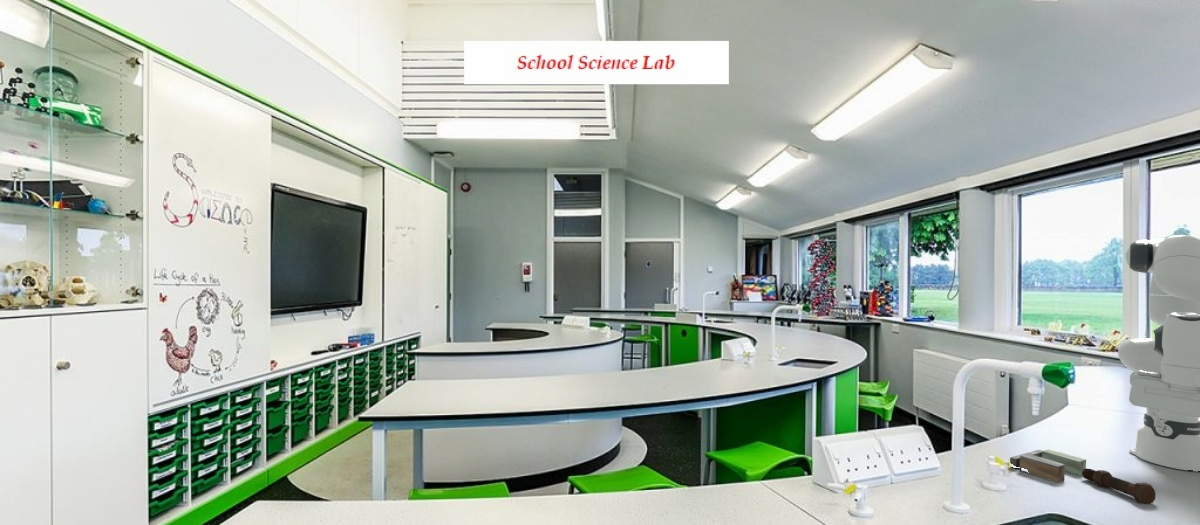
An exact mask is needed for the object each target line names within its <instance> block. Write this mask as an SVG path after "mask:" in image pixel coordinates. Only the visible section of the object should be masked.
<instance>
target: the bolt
mask: <svg viewBox="0 0 1200 525" xmlns="http://www.w3.org/2000/svg"><path fill="white" fill-rule="evenodd" d="M1083 470H1084V471H1082V477H1083V478H1084V479H1086V480H1088V481H1090V482H1093V483H1094V485H1095V486H1096V485H1097V487H1099V488H1100V489H1101V488H1102V489H1108V488H1109V489H1112V490H1115V491H1117V492H1120V493H1123V494H1126V495H1128V496H1129V497H1133V500H1134V501H1135V503H1138V504H1141V505H1151V504H1153V503H1154V502H1155V500H1156V499H1157V498H1156V496H1157V494H1156V493H1157V492H1156V490H1155V488H1154V487H1153V486H1152V484H1151V483H1148V482H1136V483H1133V482H1130V481H1127V480H1124V479H1121V478H1119V477H1115V476H1113V475H1112V474H1111V473H1110V471H1107V470H1103V469H1102V470H1101V469H1098V470H1095V469H1091V468H1086V469H1083Z"/></svg>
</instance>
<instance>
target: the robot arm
mask: <svg viewBox="0 0 1200 525" xmlns="http://www.w3.org/2000/svg"><path fill="white" fill-rule="evenodd" d="M1125 261H1126V263H1127V265H1128V266H1129V269H1131V270H1132V271H1133V272H1137V273H1141V274H1142V273H1143V274H1147V273H1152V275H1151V279H1150V284H1149V295H1148V296H1149V299H1148V316H1149V318H1150V320H1151V321H1152V322H1153V323H1154V324H1156V325H1158V326H1159V327H1157V328H1155V329H1154V330H1153V334H1154V337H1153V338H1150V337H1142V338H1141V337H1139V338H1133V339H1132V338H1131V339H1130V338H1129V339H1127V340H1124V341H1123V342H1122V343H1121V344H1120V346H1119V347H1118V351H1117V356H1118V358H1119V360H1120V362H1121V363H1122V364H1123V365H1124V366H1125V367H1126V368H1127V369H1129V370H1130V371H1132V373H1131V374H1130V376H1129V383H1130V385H1131V387H1130V390H1129V394H1128V395H1129V396H1128V400H1129V403H1130V404H1132V406H1137V407H1140V408H1146V409H1145V410H1146V412H1145V413H1144V416H1143V425H1144V426H1143V427H1141V428H1139V429H1137V431H1136V441H1135V448H1130V449H1129V450H1128V453H1130V454H1131V455H1134V456H1136V457H1138V458H1140V459H1141V460H1144V461H1146V462H1148V463H1152V464H1156V465H1159V466H1162V467H1167V468H1171V469H1177V470H1183V471H1188V470H1193V471H1192V472H1198V471H1200V420H1199V418H1200V238H1198V237H1195V236H1191V235H1187V234H1178V235H1176V234H1175V235H1172V236H1169V237H1166V238H1160V239H1157V238H1156V239H1149V240H1148V238H1147V239H1141V240H1136V241H1133V242H1132V243H1130V245H1129V247H1128V248H1127V249H1126V252H1125Z"/></svg>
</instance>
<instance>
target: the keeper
mask: <svg viewBox="0 0 1200 525" xmlns="http://www.w3.org/2000/svg"><path fill="white" fill-rule="evenodd" d="M1010 463H1011V464H1013V465H1014V466H1016V467H1020V468H1024V469H1027V470H1028V472H1029V473H1028V474H1029V475H1033V476H1035V475H1036V476H1035V477H1039V478H1041V477H1042V479H1046V480H1048V479H1049V480H1048V481H1052V482H1054V481H1055V482H1054V483H1057V482H1058V483H1060V481H1061V482H1063V480H1064V481H1065V474H1066V472H1067V471H1068V473H1070V472H1071V474H1075V475H1077V474H1078V476H1081V474H1082V471H1084V470H1083V469H1087V459H1086V458H1081V457H1078V456H1075V455H1071V454H1067V453H1063V452H1061V451H1056V450H1053V449H1044V450H1042V449H1036V450H1033V451H1028V452H1025V453H1022V454H1018V455H1015V456H1010V458H1009V464H1010ZM1020 468H1019V469H1020Z"/></svg>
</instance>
